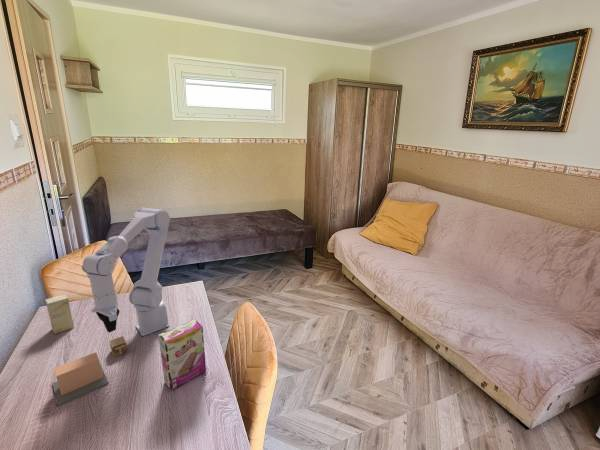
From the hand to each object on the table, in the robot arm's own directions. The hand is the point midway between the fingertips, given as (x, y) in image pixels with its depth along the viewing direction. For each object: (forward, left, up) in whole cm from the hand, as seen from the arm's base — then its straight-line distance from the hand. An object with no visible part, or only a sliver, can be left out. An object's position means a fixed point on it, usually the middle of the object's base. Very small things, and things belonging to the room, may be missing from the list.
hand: (111, 330), depth 102 cm
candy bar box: (-13, +24, -10) cm, 29 cm away
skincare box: (+11, -28, -10) cm, 32 cm away
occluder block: (+11, +7, -9) cm, 15 cm away
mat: (+11, +7, -9) cm, 16 cm away
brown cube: (-1, -1, -10) cm, 10 cm away
